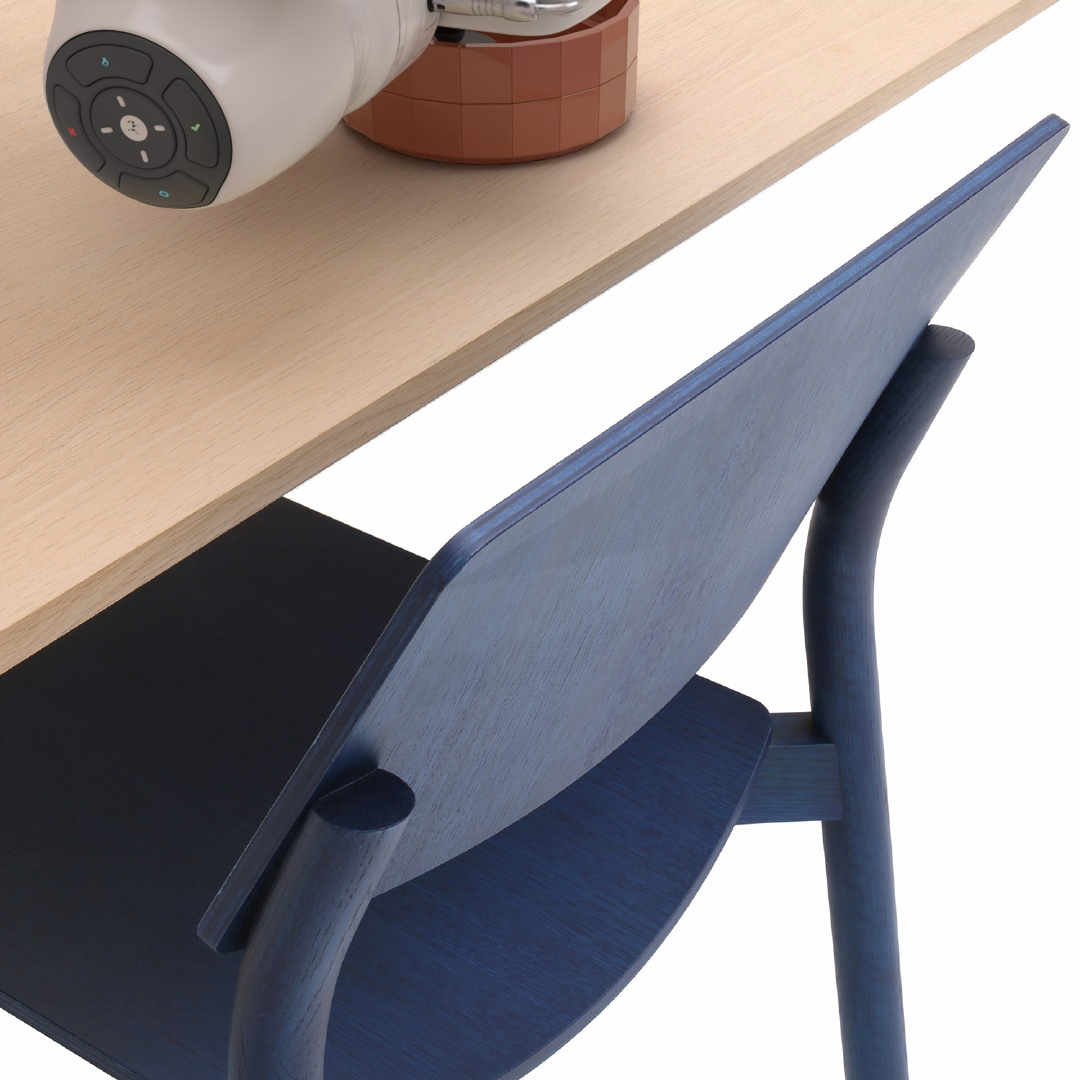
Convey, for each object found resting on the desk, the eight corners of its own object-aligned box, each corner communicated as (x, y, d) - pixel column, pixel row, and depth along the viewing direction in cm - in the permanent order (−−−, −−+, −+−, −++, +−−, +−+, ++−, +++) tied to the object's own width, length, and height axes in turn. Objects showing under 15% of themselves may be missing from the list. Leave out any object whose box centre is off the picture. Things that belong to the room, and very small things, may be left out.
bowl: (383, 188, 79) (376, 63, 75) (307, 77, 90) (298, -36, 87) (681, 146, 83) (687, 26, 80) (571, 45, 95) (573, -64, 91)
